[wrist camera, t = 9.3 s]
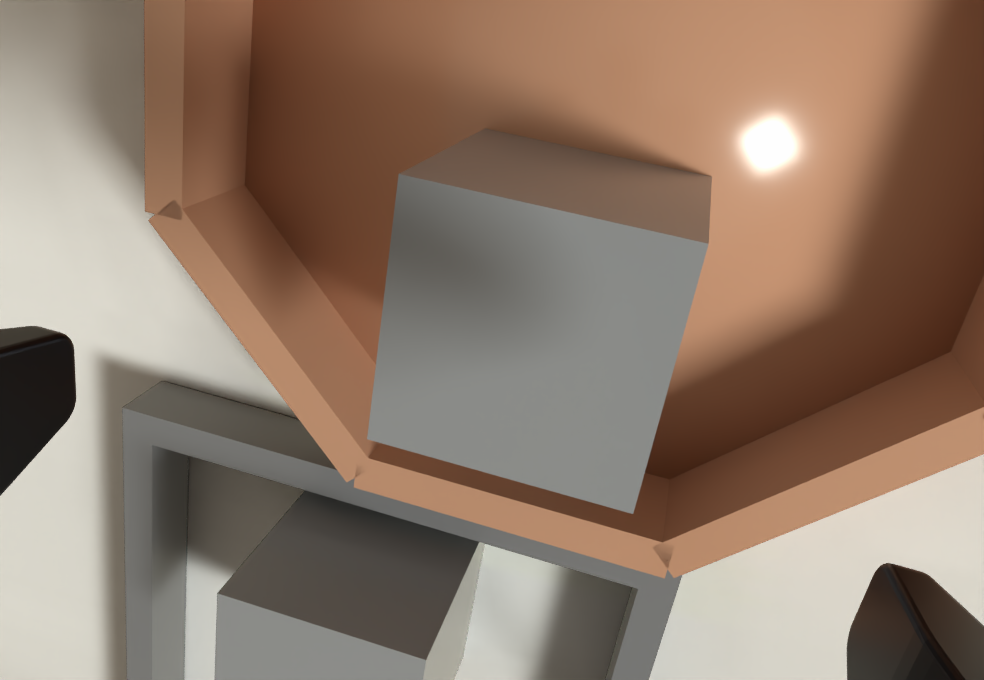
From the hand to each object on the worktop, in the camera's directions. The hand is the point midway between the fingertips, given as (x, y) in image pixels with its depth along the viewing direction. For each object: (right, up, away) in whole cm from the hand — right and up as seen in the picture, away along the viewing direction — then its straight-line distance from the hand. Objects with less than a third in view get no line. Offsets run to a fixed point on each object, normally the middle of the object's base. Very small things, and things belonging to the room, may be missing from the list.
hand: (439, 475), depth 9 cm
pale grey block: (+2, +3, +8) cm, 9 cm away
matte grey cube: (-2, -4, +13) cm, 14 cm away
